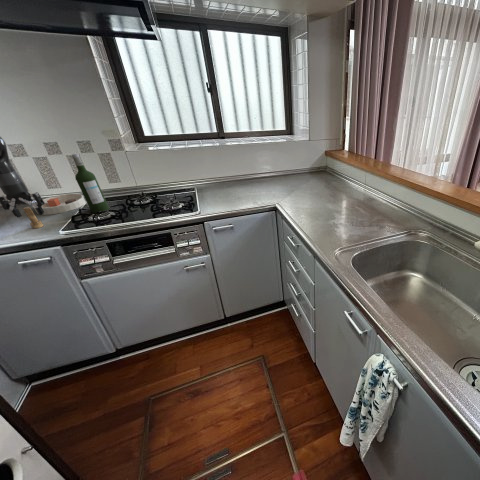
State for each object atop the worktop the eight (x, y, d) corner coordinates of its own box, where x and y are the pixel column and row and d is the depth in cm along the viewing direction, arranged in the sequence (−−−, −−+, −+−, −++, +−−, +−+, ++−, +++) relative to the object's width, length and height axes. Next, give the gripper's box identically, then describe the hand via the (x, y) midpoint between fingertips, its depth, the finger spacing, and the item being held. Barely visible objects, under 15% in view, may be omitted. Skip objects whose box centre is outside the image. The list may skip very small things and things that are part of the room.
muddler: (30, 229, 127) (18, 210, 122) (35, 225, 130) (23, 206, 125) (40, 228, 128) (29, 208, 123) (45, 224, 131) (34, 205, 126)
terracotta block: (49, 206, 148) (46, 201, 147) (53, 204, 151) (50, 198, 150) (57, 206, 149) (54, 200, 147) (60, 203, 152) (57, 198, 150)
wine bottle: (103, 206, 150) (78, 152, 134) (112, 208, 147) (88, 153, 132) (88, 212, 143) (60, 155, 128) (98, 214, 141) (71, 156, 126)
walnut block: (67, 207, 147) (64, 201, 145) (71, 205, 150) (68, 199, 148) (75, 207, 148) (72, 201, 146) (78, 204, 151) (75, 199, 149)
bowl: (27, 218, 137) (22, 210, 135) (50, 203, 155) (46, 196, 153) (76, 213, 143) (72, 205, 140) (92, 199, 160) (89, 192, 158)
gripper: (35, 178, 123) (53, 210, 131) (-4, 181, 119) (17, 214, 127) (24, 183, 116) (44, 216, 125) (-17, 186, 113) (6, 221, 121)
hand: (30, 215), depth 126 cm, fingers open, 8 cm apart
